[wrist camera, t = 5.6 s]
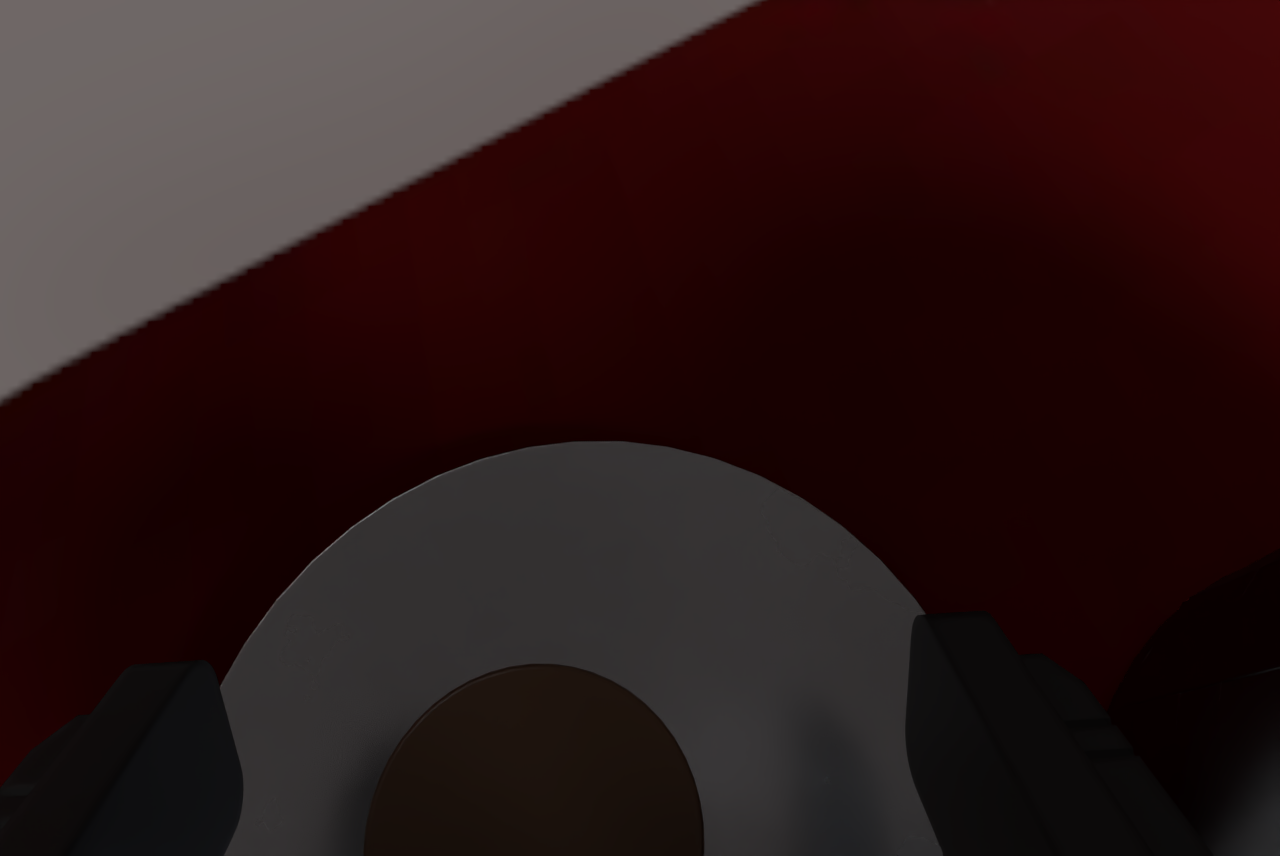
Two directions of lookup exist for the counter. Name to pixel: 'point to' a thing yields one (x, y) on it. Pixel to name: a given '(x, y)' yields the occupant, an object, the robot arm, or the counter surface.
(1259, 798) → the tin
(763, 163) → the counter surface
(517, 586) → the tin lid
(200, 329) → the counter surface
